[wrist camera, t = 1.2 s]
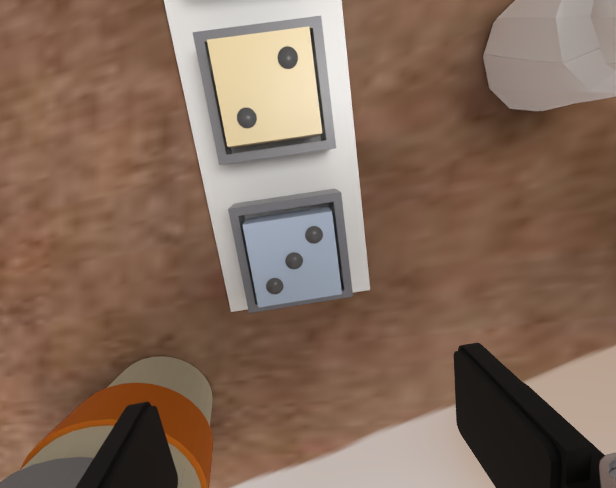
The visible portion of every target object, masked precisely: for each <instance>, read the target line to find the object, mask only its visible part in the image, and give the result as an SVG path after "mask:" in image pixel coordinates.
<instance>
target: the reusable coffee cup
mask: <svg viewBox="0 0 616 488" xmlns="http://www.w3.org/2000/svg"><path fill="white" fill-rule="evenodd" d="M142 402H149V403H150V404H151V406H156V407H157V409H158V412H159V415H160V419H161V422H162V425H163V428H164V432H165V435H166V438H167V441H168V445H169V448H170V451H171V454H172V458H173V461H174V464H175V467H176V471H177V474H178V487H177V488H209V483H210V473H211V462H212V451H213V438H212V431H211V429H210V420H211V411H212V402H213V397H212V390H211V388H210V385H209V383H208V381H207V379H206V378H205V376H204V375H203V374H202V373H201V372H200V371H199V370H198V369H197V368H195V367H194V366H192V365H191V364H189V363H187V362H185V361H183V360H180V359H176V358H173V357H164V356H159V357H150V358H146V359H142V360H140V361H138V362H135V363H133V364H132V365H131V366H129V367H128V368H126V369H125V370H124V371H123V372H122V373H121V374H120V375H119V376H118V377H117V378H116V379H115V380H114V381H113V382H112V383H111V384H110V385H109V386H108V387H107V388H105V389H103V390H101V391H99V392H97V393H95V394H93V395H92V396H91V397H89V398H88V399H86V400H85V401H84V402H83V403H82V404H81V405H79V406H78V407H77V408H76V409H75V410H74V411H73V412H72V413H71V414H70V415H69V416H68V417H66V418H65V419H64V420H63V421H62V422H61V423H60V424H59V425H58V426H57V427H56V428H55V429H53V430H52V431H51V432H50V433H49V434H48V435H47V436H46V437H45V438H44V439H43V440H42V441H40V442H39V443H38V444H37V446H36V447H35V448H34V449H33V450H32V451H31V452H30V453H29V454H28V456H27V458H26V459H25V461H24V463H23V465H22V467H21V469H20V471H18V472H15V473H13V474H11V475H10V476H9V477H7V478H6V479H4V480H3V481H1V482H0V488H75V487H76V486H77V484H78V483H79V481H80V479H81V478H82V476H83V475H84V473H85V471H86V470H87V468H88V467H89V465H90V463H91V462H92V460H93V459H94V457H95V456H96V454H97V452H98V451H99V449H100V448H101V446H102V444H103V443H104V441H105V440H106V438H107V436H108V435H109V433H110V432H111V430H112V428H113V427H114V425H115V424H116V422H117V420H118V419H119V417H120V416H121V414H122V412H123V411H124V409H125V408H126V407H127V406H128V405H131V404H137V403H142Z"/></svg>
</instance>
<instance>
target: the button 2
mask: <svg viewBox="0 0 616 488" xmlns="http://www.w3.org/2000/svg"><path fill="white" fill-rule="evenodd" d="M207 43H208V49H209V54H210V59H211V64H212V69H213V75H214V80H215V85H216V90H217V95H218V101H219V106H220V111H221V116H222V121H223V127H224V132H225V137H226V142H227V147H231V148H237V147H244V146H251V145H258V144H265V143H272V142H279V141H287V140H294V139H301V138H308V137H315V136H319V135H321V134H322V126H321V118H320V110H319V102H318V93H317V85H316V77H315V69H314V61H313V53H312V44H311V36H310V28H309V26H308V27H301V28H293V29H285V30H278V31H270V32H262V33H255V34H247V35H239V36H232V37H224V38H217V39H209V40H207Z"/></svg>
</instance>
